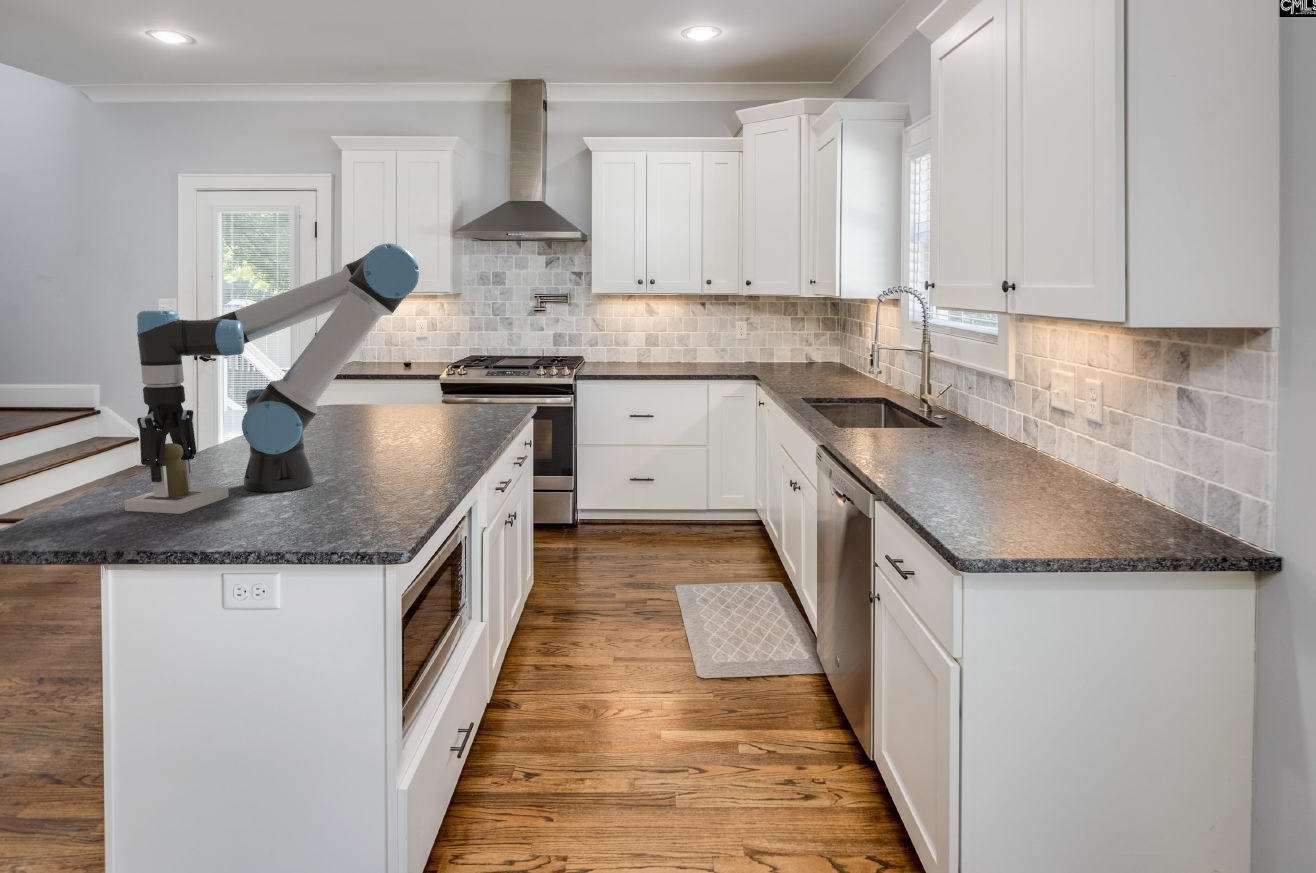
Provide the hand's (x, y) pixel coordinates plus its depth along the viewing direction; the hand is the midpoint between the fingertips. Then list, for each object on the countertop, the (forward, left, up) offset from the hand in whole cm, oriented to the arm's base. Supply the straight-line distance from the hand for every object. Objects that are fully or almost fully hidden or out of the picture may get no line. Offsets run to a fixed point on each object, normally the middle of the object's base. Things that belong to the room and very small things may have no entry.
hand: (172, 492), depth 181 cm
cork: (0, 0, -1) cm, 1 cm away
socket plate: (-1, 0, -3) cm, 3 cm away
